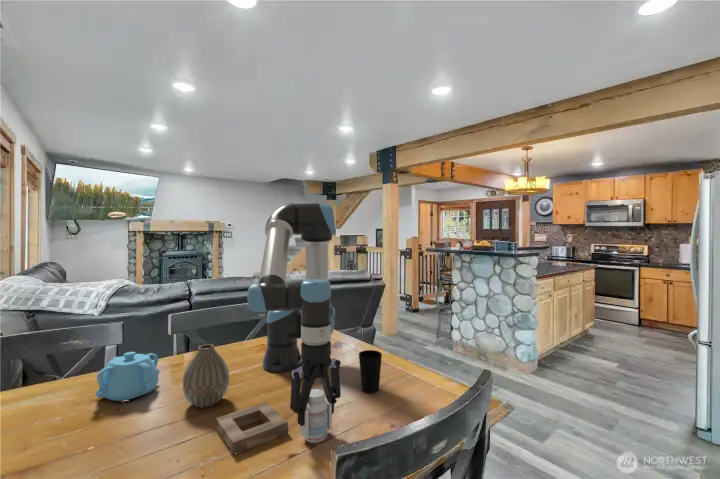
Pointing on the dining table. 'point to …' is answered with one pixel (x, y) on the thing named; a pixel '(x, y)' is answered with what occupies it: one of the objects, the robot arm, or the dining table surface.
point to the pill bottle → (317, 416)
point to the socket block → (255, 436)
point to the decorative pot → (128, 376)
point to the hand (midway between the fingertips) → (316, 431)
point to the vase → (206, 377)
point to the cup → (370, 370)
